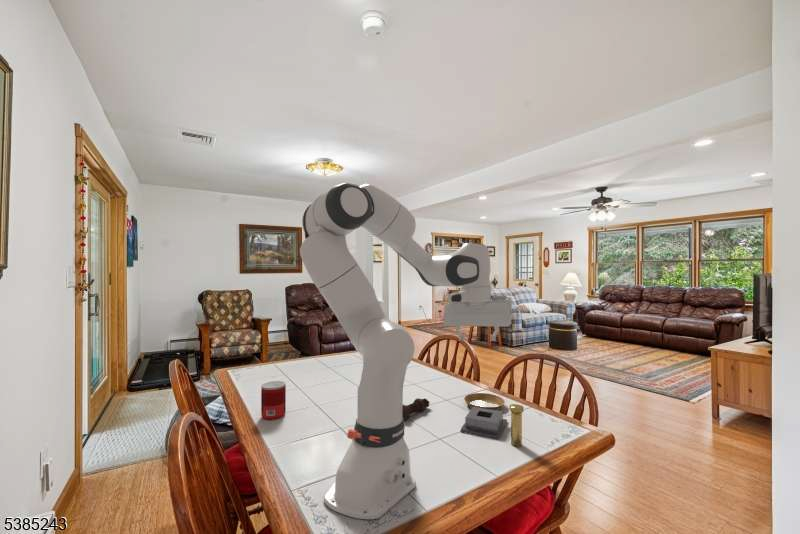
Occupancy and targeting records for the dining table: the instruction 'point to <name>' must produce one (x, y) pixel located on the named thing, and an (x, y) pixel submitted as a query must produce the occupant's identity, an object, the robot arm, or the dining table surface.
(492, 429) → the grey socket base
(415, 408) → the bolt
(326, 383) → the dining table surface
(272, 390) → the canned food
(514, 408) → the pin
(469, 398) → the plant saucer
